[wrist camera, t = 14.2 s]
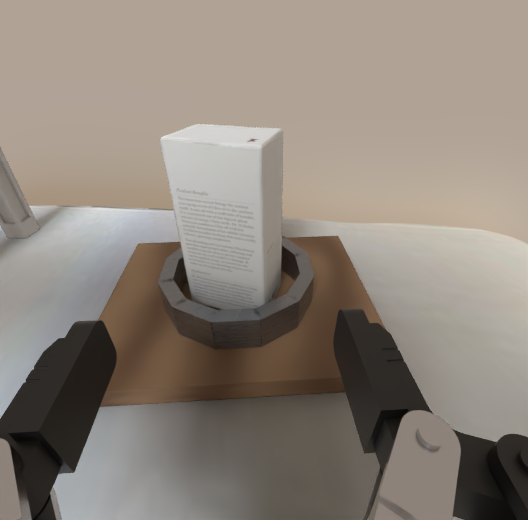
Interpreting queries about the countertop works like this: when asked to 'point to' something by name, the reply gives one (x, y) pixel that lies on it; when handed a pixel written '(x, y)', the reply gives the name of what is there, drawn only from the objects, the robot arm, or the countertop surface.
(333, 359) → the walnut base
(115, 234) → the countertop surface
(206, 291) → the skincare box
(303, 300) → the ring collar
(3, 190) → the stool
